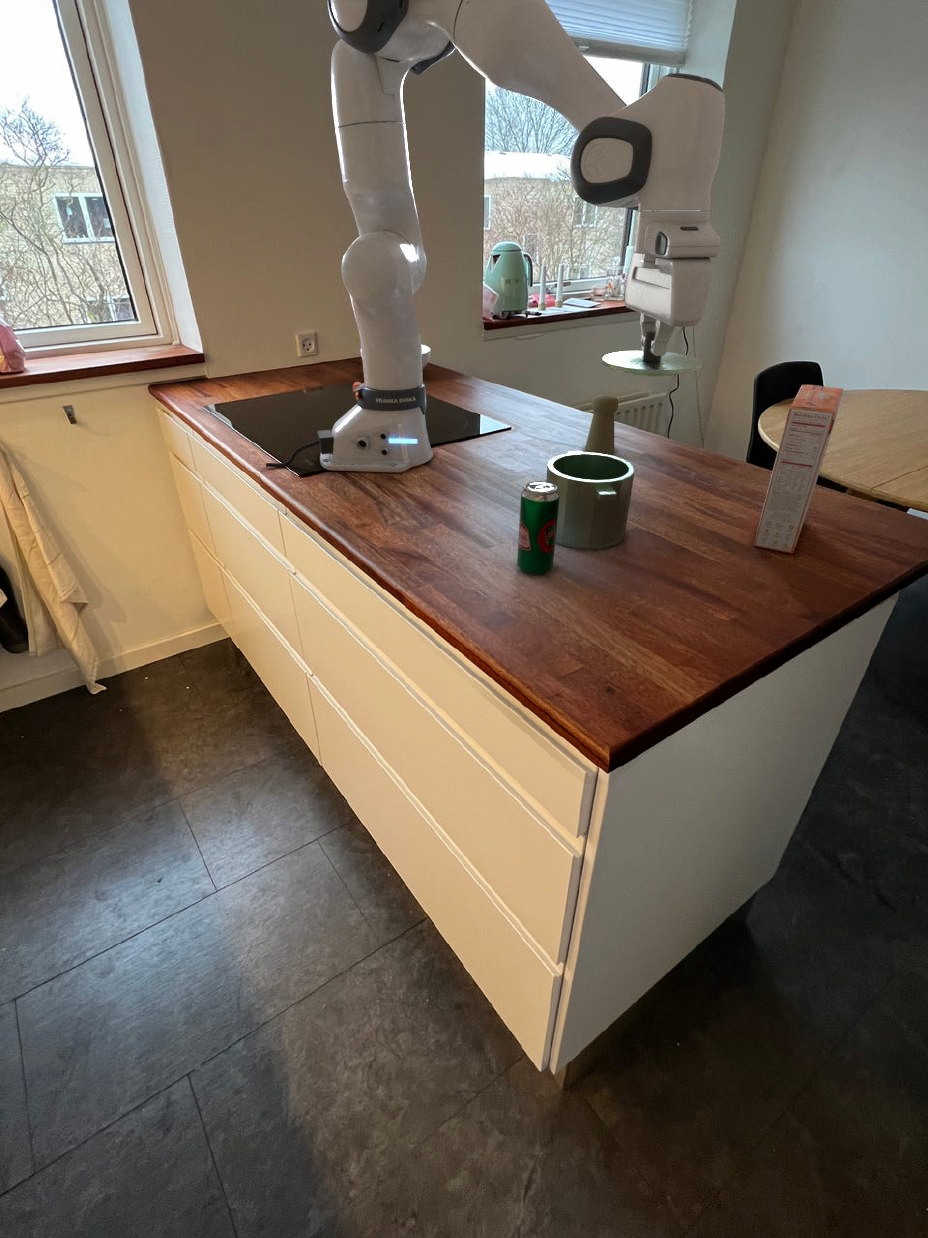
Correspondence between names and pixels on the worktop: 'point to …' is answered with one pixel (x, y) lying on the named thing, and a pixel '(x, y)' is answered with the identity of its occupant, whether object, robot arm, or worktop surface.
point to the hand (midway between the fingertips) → (652, 352)
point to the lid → (651, 361)
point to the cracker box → (797, 466)
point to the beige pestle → (602, 425)
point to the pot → (591, 498)
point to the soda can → (537, 527)
